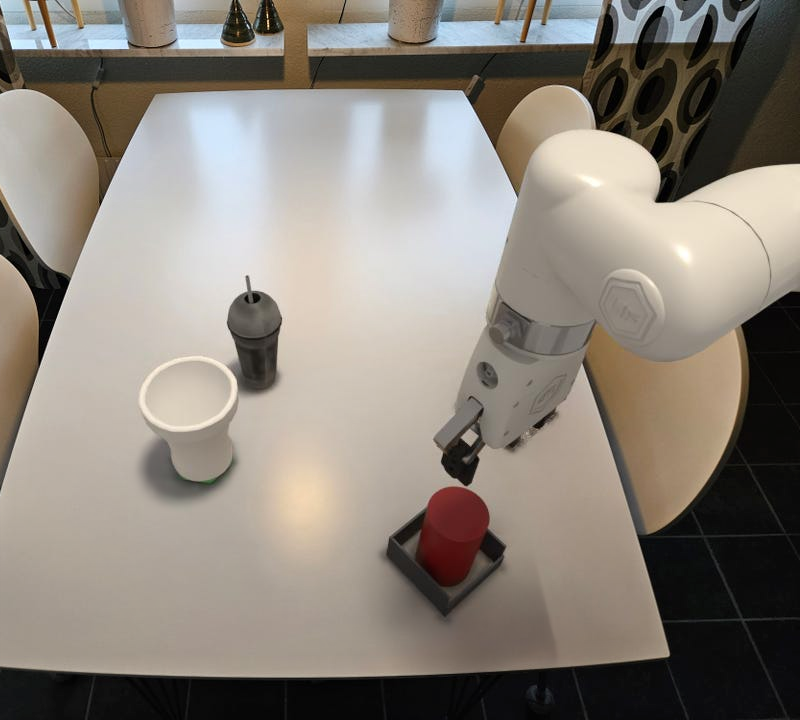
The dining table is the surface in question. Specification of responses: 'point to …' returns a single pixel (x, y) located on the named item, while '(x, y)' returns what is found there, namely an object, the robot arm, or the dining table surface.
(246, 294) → the beverage cup
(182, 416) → the cup
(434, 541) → the can
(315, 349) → the dining table surface
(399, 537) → the dark square frame
